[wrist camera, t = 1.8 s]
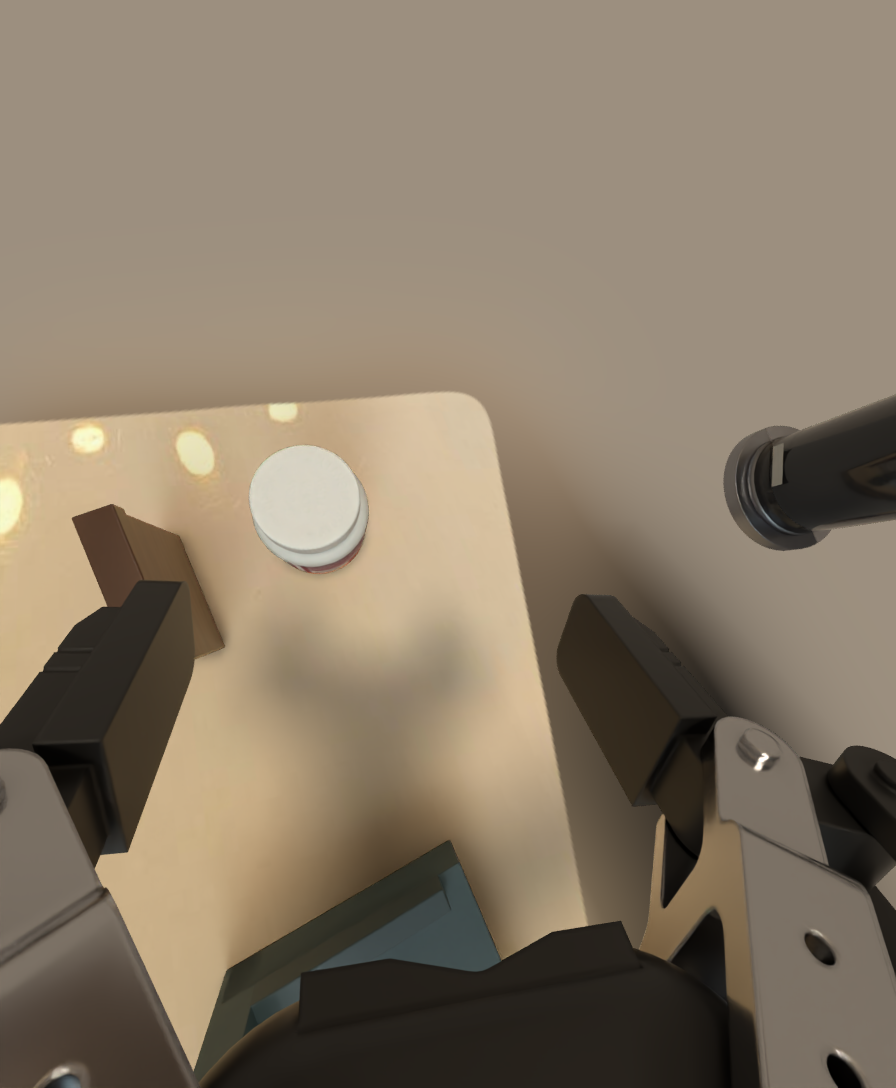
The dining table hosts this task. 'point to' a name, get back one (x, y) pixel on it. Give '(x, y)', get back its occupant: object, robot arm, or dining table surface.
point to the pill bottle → (309, 508)
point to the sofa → (358, 945)
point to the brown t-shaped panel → (142, 564)
